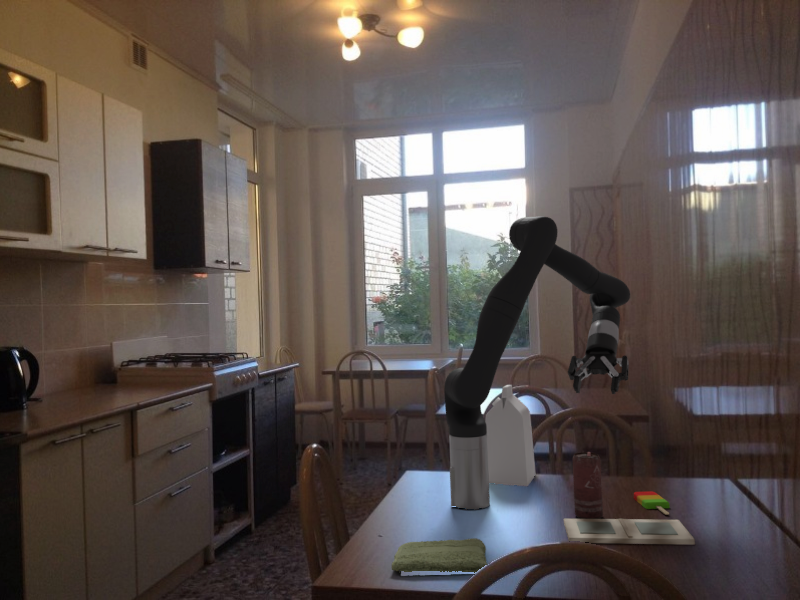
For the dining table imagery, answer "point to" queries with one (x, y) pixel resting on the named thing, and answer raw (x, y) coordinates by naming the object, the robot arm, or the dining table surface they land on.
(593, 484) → the can
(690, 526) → the dining table surface
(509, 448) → the milk
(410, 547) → the washcloth
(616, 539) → the white flat rectangular tray
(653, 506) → the popsicle
